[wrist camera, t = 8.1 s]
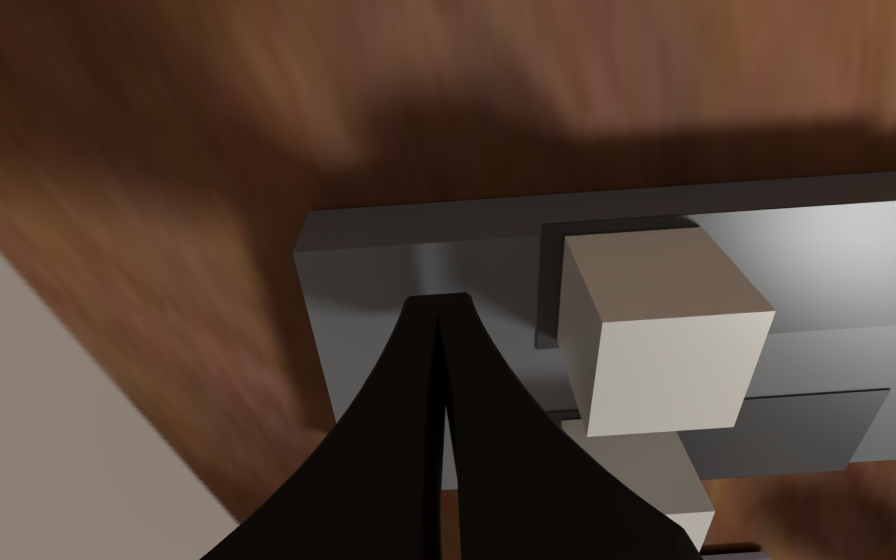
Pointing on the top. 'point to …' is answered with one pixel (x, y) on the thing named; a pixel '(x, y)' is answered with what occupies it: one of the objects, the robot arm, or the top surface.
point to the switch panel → (615, 211)
